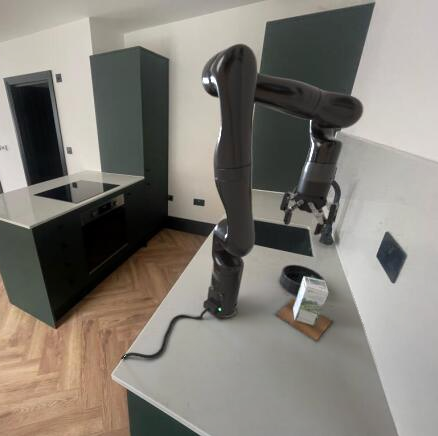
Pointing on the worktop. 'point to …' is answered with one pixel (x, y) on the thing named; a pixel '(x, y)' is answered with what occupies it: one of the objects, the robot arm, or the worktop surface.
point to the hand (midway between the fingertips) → (301, 229)
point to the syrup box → (310, 300)
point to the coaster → (307, 329)
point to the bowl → (296, 277)
